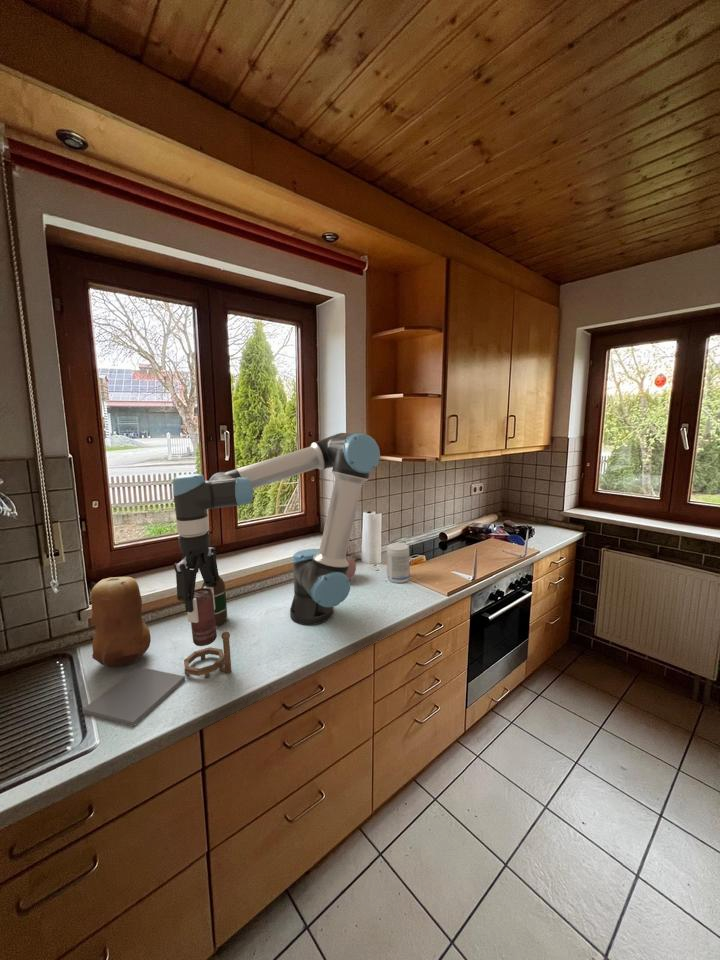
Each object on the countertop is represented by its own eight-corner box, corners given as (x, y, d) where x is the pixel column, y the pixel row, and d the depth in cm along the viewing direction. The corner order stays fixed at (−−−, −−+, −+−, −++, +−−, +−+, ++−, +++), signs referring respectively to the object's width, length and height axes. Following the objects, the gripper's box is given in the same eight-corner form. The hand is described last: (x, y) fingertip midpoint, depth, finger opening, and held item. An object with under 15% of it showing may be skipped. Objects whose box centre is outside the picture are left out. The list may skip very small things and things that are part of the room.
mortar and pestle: (343, 572, 170) (343, 548, 168) (362, 580, 161) (361, 554, 160) (322, 580, 162) (321, 554, 160) (340, 589, 153) (339, 562, 152)
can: (196, 635, 107) (191, 588, 105) (219, 633, 107) (215, 586, 105) (188, 647, 101) (183, 598, 99) (213, 645, 101) (208, 596, 99)
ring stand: (242, 661, 107) (239, 623, 106) (220, 684, 98) (217, 642, 96) (202, 654, 111) (198, 617, 109) (176, 675, 102) (173, 635, 100)
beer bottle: (219, 628, 125) (214, 558, 121) (198, 626, 126) (192, 557, 123) (232, 616, 132) (227, 550, 129) (212, 615, 134) (207, 549, 131)
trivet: (185, 680, 100) (184, 676, 100) (133, 726, 85) (133, 721, 84) (139, 671, 104) (139, 666, 104) (82, 713, 89) (82, 709, 89)
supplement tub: (414, 579, 162) (414, 545, 160) (400, 585, 155) (399, 551, 153) (396, 573, 169) (396, 541, 166) (382, 579, 162) (382, 546, 160)
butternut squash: (141, 643, 117) (132, 566, 114) (160, 659, 109) (151, 576, 105) (88, 665, 107) (76, 581, 103) (104, 685, 98) (93, 594, 95)
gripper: (205, 522, 109) (213, 598, 113) (153, 543, 91) (164, 632, 95) (228, 524, 107) (234, 600, 111) (178, 545, 89) (188, 636, 93)
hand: (202, 615), depth 103 cm, fingers closed on can, 6 cm apart
